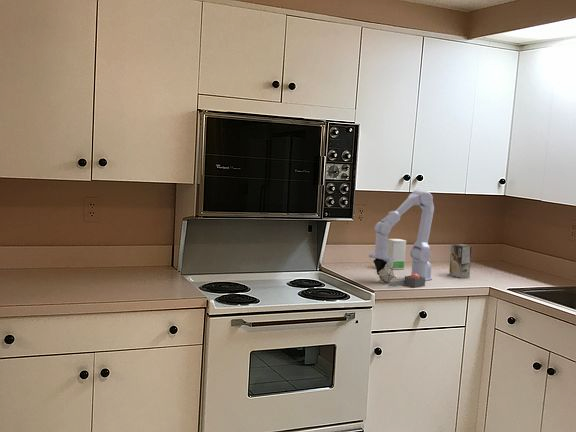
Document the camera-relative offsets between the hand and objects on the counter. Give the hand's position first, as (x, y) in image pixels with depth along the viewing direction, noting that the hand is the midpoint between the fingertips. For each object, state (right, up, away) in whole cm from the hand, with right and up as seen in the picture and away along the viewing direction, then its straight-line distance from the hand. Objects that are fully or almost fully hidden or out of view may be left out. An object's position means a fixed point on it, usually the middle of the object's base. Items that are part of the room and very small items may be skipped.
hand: (379, 274), depth 315 cm
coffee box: (+44, -3, +19) cm, 48 cm away
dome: (+16, -4, -7) cm, 17 cm away
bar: (+7, -4, -9) cm, 12 cm away
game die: (+2, -4, -4) cm, 6 cm away
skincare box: (+13, 0, +33) cm, 35 cm away
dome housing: (+16, -5, -7) cm, 18 cm away
